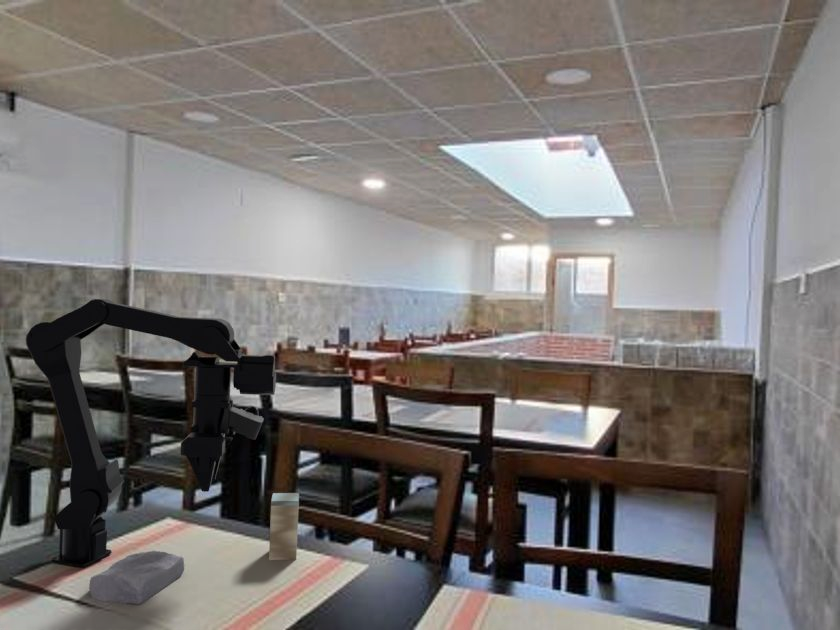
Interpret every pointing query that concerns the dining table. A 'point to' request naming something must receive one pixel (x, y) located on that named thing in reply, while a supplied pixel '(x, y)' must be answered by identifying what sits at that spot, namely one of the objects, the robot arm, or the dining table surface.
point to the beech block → (284, 526)
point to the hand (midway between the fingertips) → (208, 485)
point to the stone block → (137, 577)
